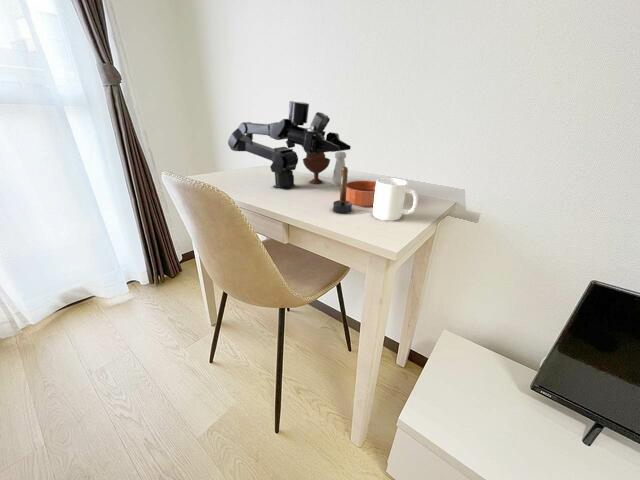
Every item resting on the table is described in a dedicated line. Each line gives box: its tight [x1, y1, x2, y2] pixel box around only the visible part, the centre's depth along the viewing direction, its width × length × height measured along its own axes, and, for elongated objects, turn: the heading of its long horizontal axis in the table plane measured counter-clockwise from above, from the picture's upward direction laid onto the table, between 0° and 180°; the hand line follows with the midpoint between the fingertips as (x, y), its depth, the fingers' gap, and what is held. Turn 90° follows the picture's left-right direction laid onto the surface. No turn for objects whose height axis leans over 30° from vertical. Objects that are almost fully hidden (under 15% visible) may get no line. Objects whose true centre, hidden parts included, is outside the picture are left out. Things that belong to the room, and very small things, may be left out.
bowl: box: [346, 179, 376, 208], centre depth 87 cm, size 14×14×5 cm
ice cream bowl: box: [302, 149, 331, 185], centre depth 105 cm, size 11×11×15 cm
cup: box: [372, 177, 419, 222], centre depth 72 cm, size 8×12×10 cm
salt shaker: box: [332, 151, 347, 187], centre depth 102 cm, size 6×6×13 cm
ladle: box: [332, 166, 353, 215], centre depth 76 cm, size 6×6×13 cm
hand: (344, 148), depth 83 cm, fingers open, 9 cm apart
